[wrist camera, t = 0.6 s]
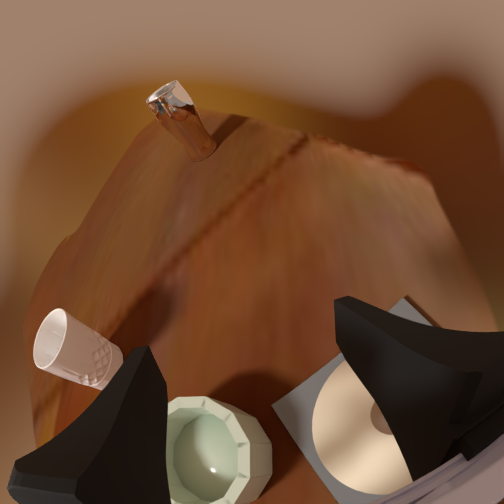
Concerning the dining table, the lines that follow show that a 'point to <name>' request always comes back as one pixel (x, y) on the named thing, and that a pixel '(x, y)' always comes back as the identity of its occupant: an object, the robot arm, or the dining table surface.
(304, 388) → the mat
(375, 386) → the robot arm
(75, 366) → the white cup
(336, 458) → the lid
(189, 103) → the beer glass
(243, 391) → the dining table surface
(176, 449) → the bowl
